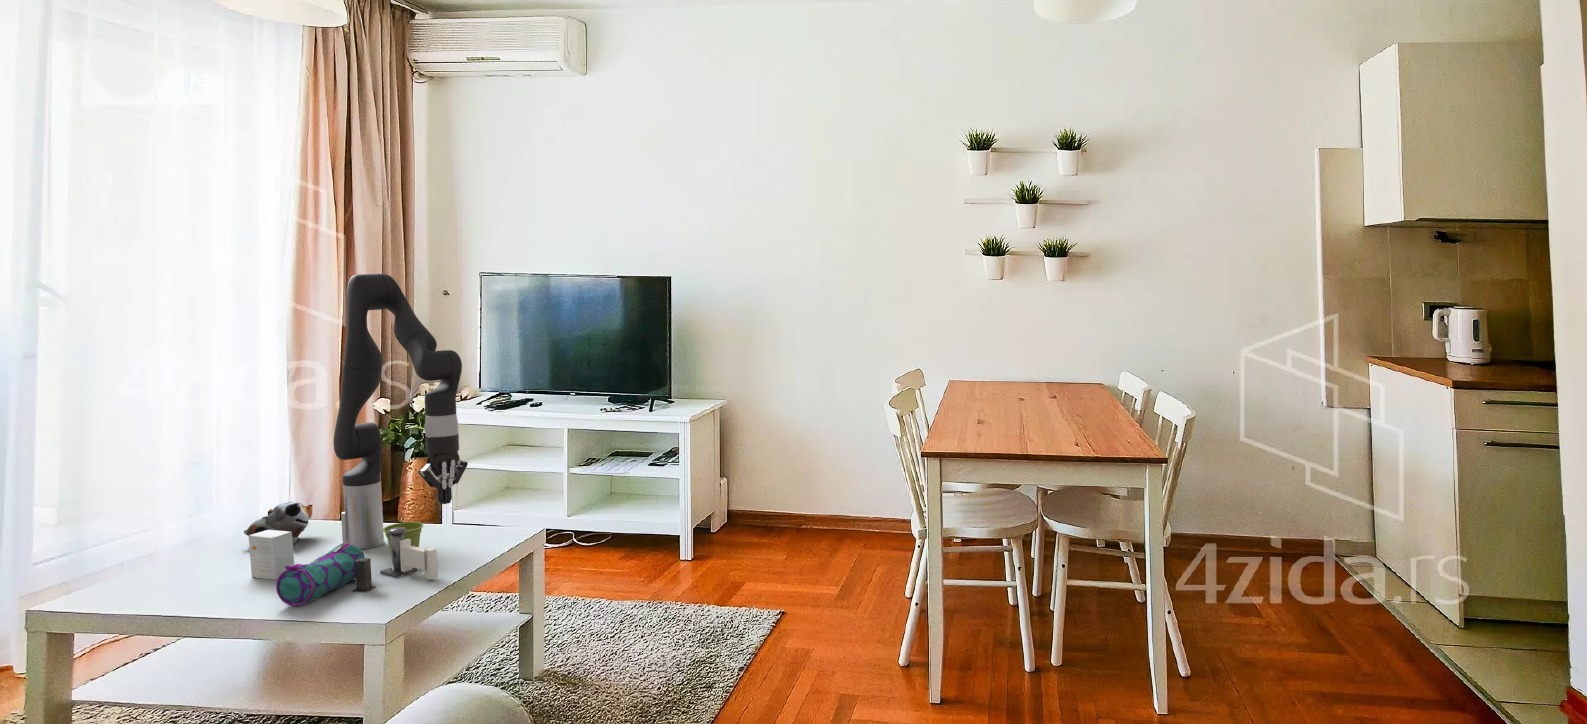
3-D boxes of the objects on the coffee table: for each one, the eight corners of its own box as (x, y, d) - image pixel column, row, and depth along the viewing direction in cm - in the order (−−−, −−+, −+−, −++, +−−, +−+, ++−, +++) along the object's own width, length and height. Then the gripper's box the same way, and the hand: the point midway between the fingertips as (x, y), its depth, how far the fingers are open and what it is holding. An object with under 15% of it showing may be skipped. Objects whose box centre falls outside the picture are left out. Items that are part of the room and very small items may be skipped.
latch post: (352, 591, 207) (350, 561, 206) (361, 586, 210) (359, 557, 210) (367, 592, 206) (365, 562, 206) (375, 586, 210) (374, 557, 209)
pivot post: (380, 574, 219) (377, 530, 219) (402, 567, 225) (399, 524, 224) (395, 577, 216) (393, 533, 215) (417, 570, 222) (415, 527, 221)
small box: (295, 573, 221) (293, 531, 220) (275, 580, 216) (273, 537, 215) (270, 570, 224) (268, 528, 223) (250, 577, 218) (248, 534, 217)
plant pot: (410, 566, 225) (408, 532, 225) (376, 564, 227) (375, 530, 226) (432, 555, 234) (430, 522, 234) (400, 553, 236) (398, 521, 236)
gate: (401, 573, 218) (399, 540, 218) (409, 570, 220) (407, 538, 219) (430, 580, 213) (428, 546, 212) (438, 577, 215) (436, 544, 214)
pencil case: (332, 578, 217) (330, 539, 217) (367, 578, 217) (365, 539, 216) (274, 608, 197) (271, 565, 196) (312, 609, 196) (310, 566, 195)
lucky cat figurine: (275, 534, 256) (299, 490, 257) (306, 554, 253) (330, 509, 254) (233, 533, 242) (259, 486, 243) (264, 554, 239) (291, 506, 240)
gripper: (454, 428, 226) (457, 496, 227) (408, 435, 214) (411, 507, 216) (474, 430, 222) (477, 499, 223) (428, 438, 211) (432, 511, 212)
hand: (445, 503), depth 220 cm, fingers closed
